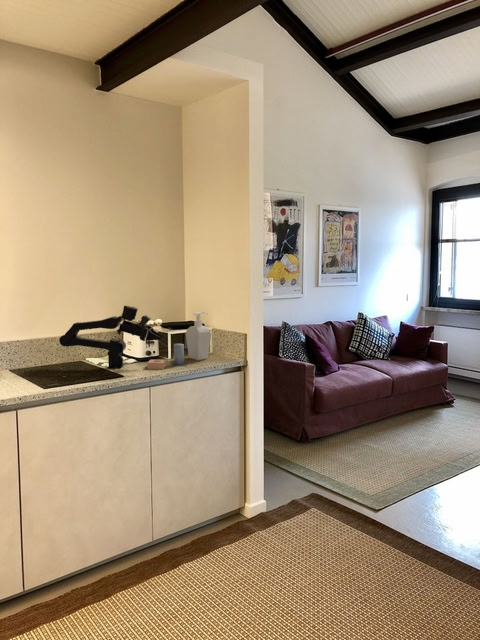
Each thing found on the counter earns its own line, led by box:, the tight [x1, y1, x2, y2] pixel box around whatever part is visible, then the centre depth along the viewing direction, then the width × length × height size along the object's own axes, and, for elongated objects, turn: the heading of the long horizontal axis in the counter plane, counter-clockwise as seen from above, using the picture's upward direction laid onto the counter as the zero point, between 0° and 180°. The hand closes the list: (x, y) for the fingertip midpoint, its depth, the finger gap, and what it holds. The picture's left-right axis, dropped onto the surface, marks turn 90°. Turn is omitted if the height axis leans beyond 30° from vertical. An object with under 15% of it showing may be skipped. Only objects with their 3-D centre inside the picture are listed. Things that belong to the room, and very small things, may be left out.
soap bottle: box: [185, 311, 212, 361], centre depth 288 cm, size 12×10×26 cm
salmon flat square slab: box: [147, 359, 167, 370], centre depth 264 cm, size 8×8×4 cm
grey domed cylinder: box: [173, 343, 185, 365], centre depth 271 cm, size 5×5×10 cm
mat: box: [168, 361, 189, 367], centre depth 272 cm, size 9×9×1 cm
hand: (162, 337), depth 264 cm, fingers open, 9 cm apart
